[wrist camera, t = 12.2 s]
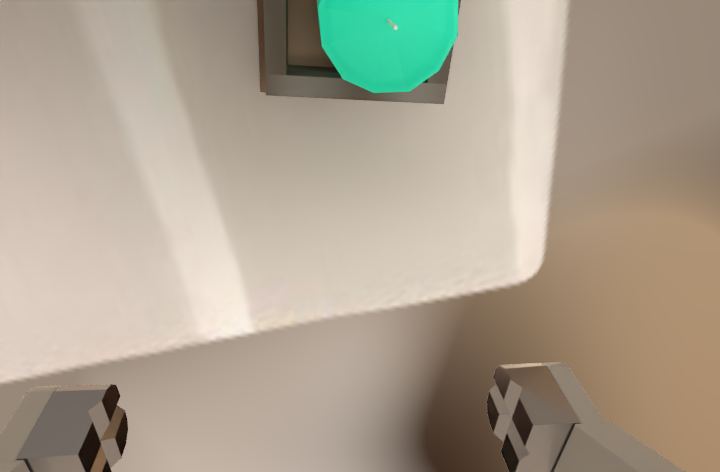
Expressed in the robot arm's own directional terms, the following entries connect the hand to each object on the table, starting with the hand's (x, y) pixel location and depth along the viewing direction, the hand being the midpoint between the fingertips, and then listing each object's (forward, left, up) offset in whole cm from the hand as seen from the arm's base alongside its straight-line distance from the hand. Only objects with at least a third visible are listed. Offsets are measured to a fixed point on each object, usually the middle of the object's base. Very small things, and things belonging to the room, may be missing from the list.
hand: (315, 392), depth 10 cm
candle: (+3, +6, -25) cm, 25 cm away
